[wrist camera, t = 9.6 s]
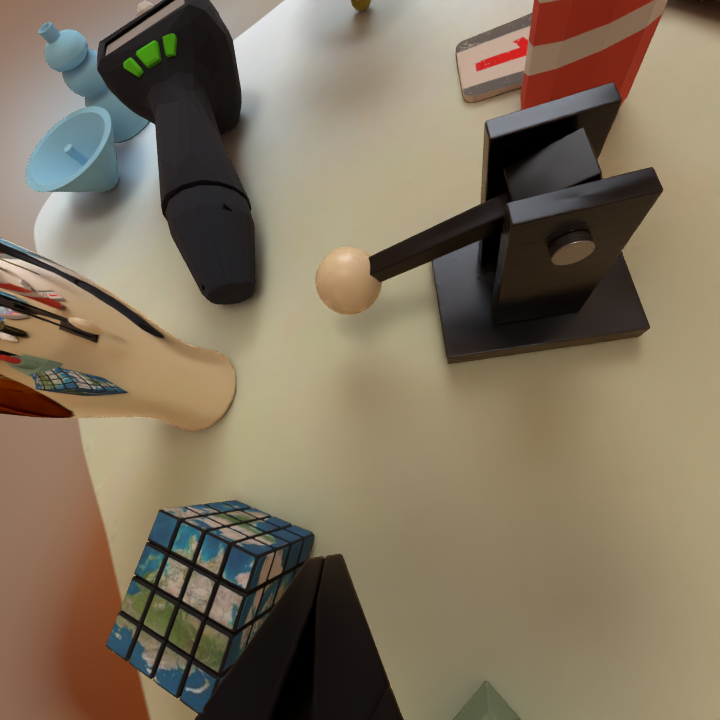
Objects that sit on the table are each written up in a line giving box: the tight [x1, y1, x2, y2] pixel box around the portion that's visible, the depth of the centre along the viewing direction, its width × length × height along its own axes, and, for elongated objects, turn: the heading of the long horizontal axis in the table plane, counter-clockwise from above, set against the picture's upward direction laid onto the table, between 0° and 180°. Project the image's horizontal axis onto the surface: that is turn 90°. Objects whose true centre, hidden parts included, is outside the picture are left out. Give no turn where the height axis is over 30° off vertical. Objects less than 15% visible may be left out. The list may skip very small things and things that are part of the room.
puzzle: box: [106, 500, 314, 714], centre depth 17 cm, size 6×6×6 cm
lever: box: [316, 127, 602, 315], centre depth 16 cm, size 13×4×4 cm, turn 94°
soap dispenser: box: [26, 22, 149, 192], centre depth 34 cm, size 18×10×9 cm, turn 178°
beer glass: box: [0, 238, 236, 431], centre depth 18 cm, size 7×7×15 cm
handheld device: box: [97, 0, 256, 305], centre depth 29 cm, size 11×26×10 cm, turn 15°
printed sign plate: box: [456, 13, 532, 102], centre depth 26 cm, size 7×1×10 cm
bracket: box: [432, 82, 663, 364], centre depth 16 cm, size 10×8×10 cm
